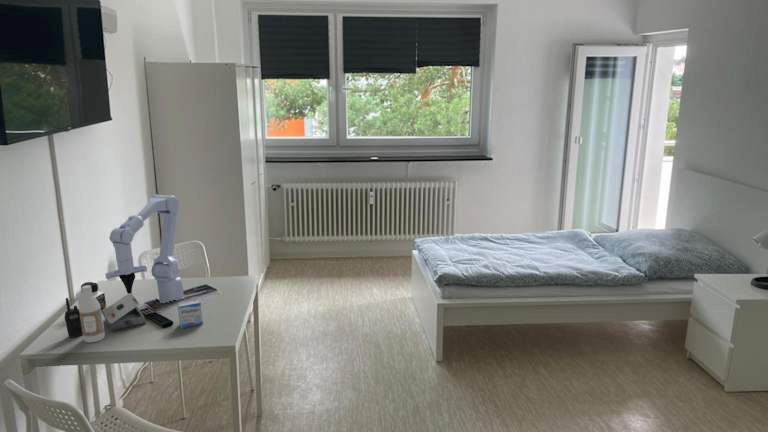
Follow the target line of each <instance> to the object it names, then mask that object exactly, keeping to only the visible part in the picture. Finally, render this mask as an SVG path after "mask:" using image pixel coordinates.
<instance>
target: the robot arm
mask: <svg viewBox="0 0 768 432" xmlns="http://www.w3.org/2000/svg"><path fill="white" fill-rule="evenodd" d="M179 207H180V200H179V199H178V197H177V196H175V195H167V194H166V195H165V194H158V193H157V194H153V195H152V196H151V197H150V198H149V199H148V203H147V204H146V205H145V206H144V207H142V209H141V210H140V211H139V212H138V213H137V214H136V215H135V214H134V215H129V217H128V219H127V220H125V222H123V223H121V225H120V226H119V227H115V228H113V229H112V230H111V232H110V235H109V241H110V242H111V243H112V246H113V247H114V253H115V257H116V258H115V260H116V266H117V269H116V270H112V271H110V272H106V273H105V272H104V273H105V279H106V280H109V279H112V278H117V277H119V279H120V280H121V282H122V284H123V285H124V288H125V290H126V291H125V292H126V293H127V294H129V293H131V294H133V293H132V291H133V285H134V282H135V280H136V274H138V273H145V272H148V268H147V266H146V265H140V266H135V264H134V258H133V250H132V242H133V240H134V237H135V235H136V233H138V231H139V230H141V228H143V227H144V224H145V223H144V222H145V221H146V220H147V219H149V218H150V217H151V216H153V215H154V214H155V213H156V212H157V213H158V214H160V215H161V217H162V218H163V222H162V232H161V241H160V248H159V255H158V256H157V257H156V258H155V259H154V260H153V261H154V262H153V265H152V266H151V269H150V271H151V272H150V273H151V275H152V276H153V277H154V278H155V279H154V280H155V281H156V284H157V291H158V296H157V297H156V300H157V299H158V300H159V301H160V302H161V303H163V304H166V302H167V303H170V302H169V301H172V302H174V301H173V300H176V301H180V300H183V299H185V297H184V296H185V295H184V289H183V282H182V278H181V277H180V276H179V272H180V270H179V261H178V260H177V259H176V258H175V257H174V256H175V255H174V253H175V245H176V237H177V228H178V219H179V210H180V209H179ZM158 300H157V301H158ZM159 301H158V302H159ZM160 302H159V303H160ZM161 303H160V304H161Z"/></svg>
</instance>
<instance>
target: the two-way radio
mask: <svg viewBox="0 0 768 432" xmlns="http://www.w3.org/2000/svg"><path fill="white" fill-rule="evenodd" d="M65 304H66V311H65V313H64V323H65V324H66V331H67V335H68V337H69V338H71V339H72V338H76V337H80V336H83V332H82V326H81V320H80V314H79V308H78V305H73V308H72V307H71V305H70V301H69V298H68V297H66V298H65Z"/></svg>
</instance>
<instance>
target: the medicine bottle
mask: <svg viewBox="0 0 768 432" xmlns="http://www.w3.org/2000/svg"><path fill="white" fill-rule="evenodd" d="M86 285H90V286H91V289H92V295H93V296H94V297H95V298H96V299H97V300H98V302H99V303H100V306H101V312H102V311H103V310H105V309H106V308H108V306H107V301H106V296H105V292H104V291H99V290H100V289H99V284H98V282H97V281H86V282H83V283H82V284H81V285H80V290H81V295H79V296H78V297H77V304H78V305H77V306H79V305H80V302H81V300H82V298H83V292H82V287H83V286H86Z"/></svg>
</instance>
